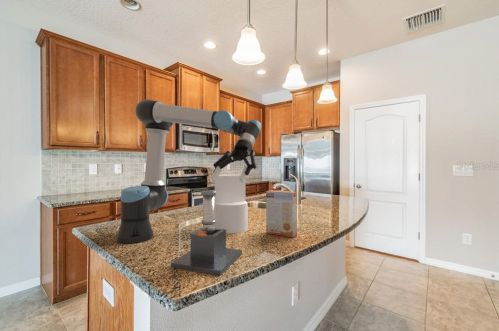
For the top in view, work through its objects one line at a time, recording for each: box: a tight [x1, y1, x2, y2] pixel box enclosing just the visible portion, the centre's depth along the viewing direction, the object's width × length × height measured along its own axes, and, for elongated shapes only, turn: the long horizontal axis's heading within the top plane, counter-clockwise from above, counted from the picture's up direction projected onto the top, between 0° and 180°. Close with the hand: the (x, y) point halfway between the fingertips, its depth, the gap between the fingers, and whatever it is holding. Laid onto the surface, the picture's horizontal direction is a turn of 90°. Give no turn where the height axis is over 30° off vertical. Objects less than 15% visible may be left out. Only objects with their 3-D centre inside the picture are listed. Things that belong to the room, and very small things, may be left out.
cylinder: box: [214, 174, 249, 235], centre depth 122 cm, size 17×17×28 cm
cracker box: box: [265, 189, 298, 238], centre depth 113 cm, size 14×6×21 cm, turn 58°
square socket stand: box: [170, 227, 243, 276], centre depth 82 cm, size 18×18×11 cm
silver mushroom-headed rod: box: [200, 190, 216, 235], centre depth 82 cm, size 5×5×22 cm
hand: (226, 180), depth 93 cm, fingers open, 13 cm apart
